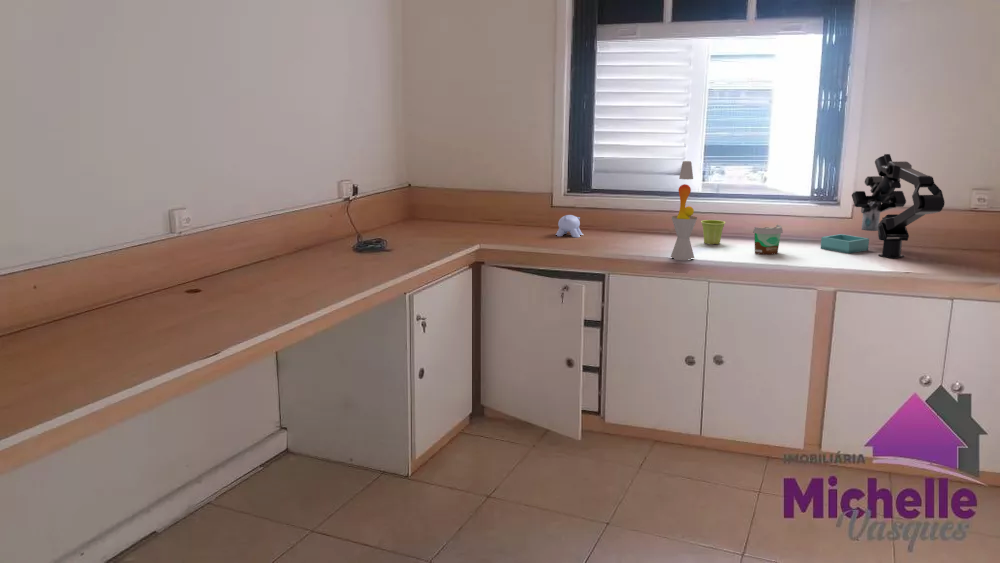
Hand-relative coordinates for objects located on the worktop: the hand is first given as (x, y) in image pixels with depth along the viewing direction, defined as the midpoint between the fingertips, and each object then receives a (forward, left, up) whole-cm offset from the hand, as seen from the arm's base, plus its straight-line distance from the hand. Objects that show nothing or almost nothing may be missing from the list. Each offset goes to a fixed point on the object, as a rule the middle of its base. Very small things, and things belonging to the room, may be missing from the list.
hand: (870, 212), depth 311 cm
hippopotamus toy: (-80, +85, -14) cm, 117 cm away
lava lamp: (-75, +23, -14) cm, 80 cm away
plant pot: (-44, +38, -14) cm, 60 cm away
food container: (-42, +11, -14) cm, 46 cm away
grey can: (-1, -1, -7) cm, 7 cm away
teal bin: (-12, +1, -13) cm, 18 cm away
